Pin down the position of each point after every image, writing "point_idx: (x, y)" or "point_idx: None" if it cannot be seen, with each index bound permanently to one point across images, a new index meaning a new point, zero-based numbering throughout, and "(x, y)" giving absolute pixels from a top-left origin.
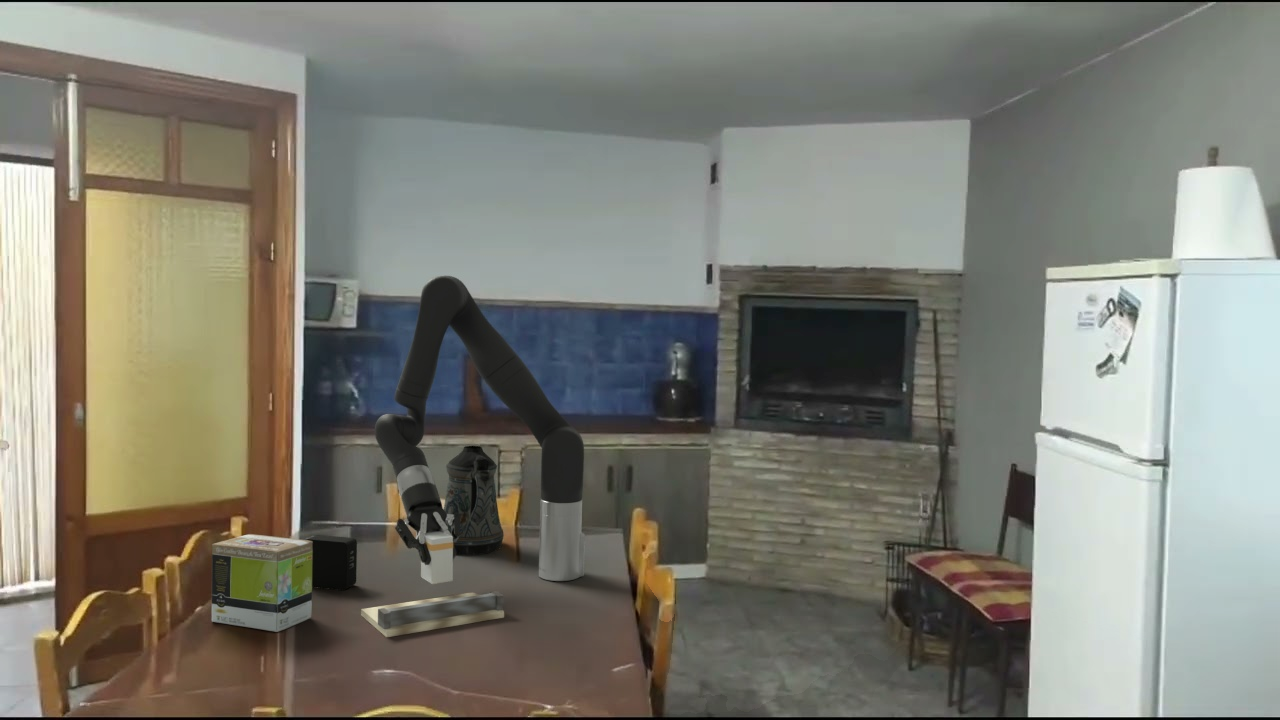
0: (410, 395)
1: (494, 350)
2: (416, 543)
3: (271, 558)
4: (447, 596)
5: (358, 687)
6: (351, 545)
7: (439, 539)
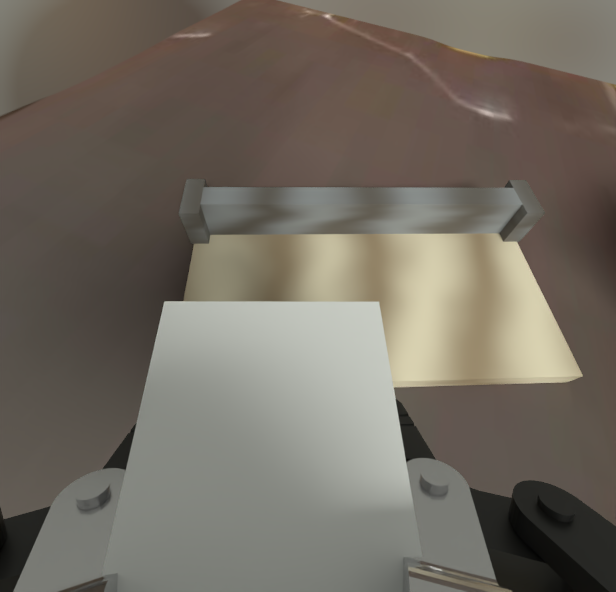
0: None
1: None
2: (483, 501)
3: None
4: None
5: (527, 92)
6: None
7: (304, 304)
